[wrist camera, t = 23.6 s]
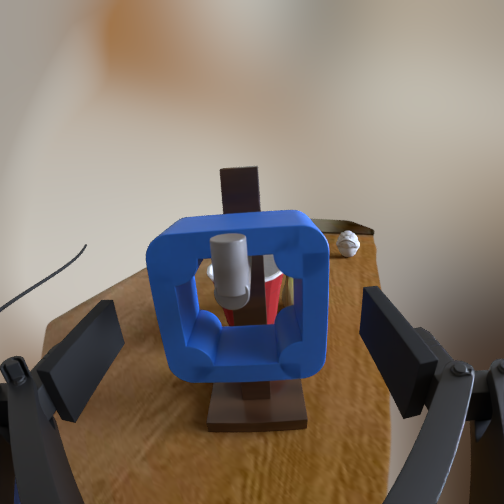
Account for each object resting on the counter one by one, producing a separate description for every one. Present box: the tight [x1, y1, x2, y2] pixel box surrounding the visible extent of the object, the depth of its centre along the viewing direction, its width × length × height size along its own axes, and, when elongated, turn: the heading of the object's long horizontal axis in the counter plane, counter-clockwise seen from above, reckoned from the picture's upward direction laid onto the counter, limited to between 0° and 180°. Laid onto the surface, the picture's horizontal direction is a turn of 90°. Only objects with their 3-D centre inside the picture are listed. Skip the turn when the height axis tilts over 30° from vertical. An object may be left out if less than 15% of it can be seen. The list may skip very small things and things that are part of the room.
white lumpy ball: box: [336, 231, 360, 257], centre depth 77 cm, size 6×7×7 cm
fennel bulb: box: [282, 276, 294, 307], centre depth 52 cm, size 6×5×12 cm
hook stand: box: [207, 166, 308, 432], centre depth 24 cm, size 19×10×25 cm, turn 179°
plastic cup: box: [207, 254, 283, 326], centre depth 43 cm, size 11×11×12 cm
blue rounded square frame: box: [146, 210, 329, 383], centre depth 20 cm, size 5×10×10 cm, turn 89°
